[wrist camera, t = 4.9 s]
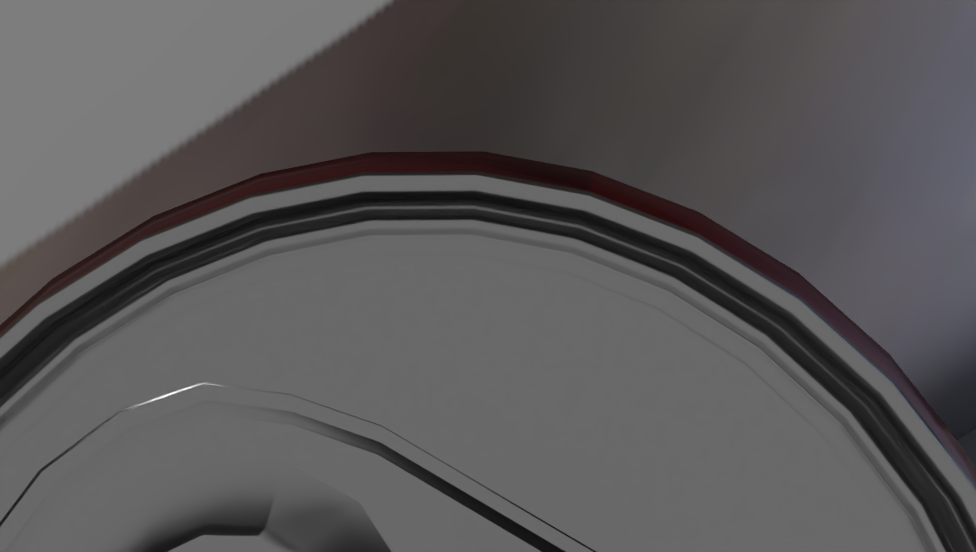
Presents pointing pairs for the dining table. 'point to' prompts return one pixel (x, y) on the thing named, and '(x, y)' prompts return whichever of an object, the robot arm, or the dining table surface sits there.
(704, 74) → the dining table surface
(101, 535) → the soda can
